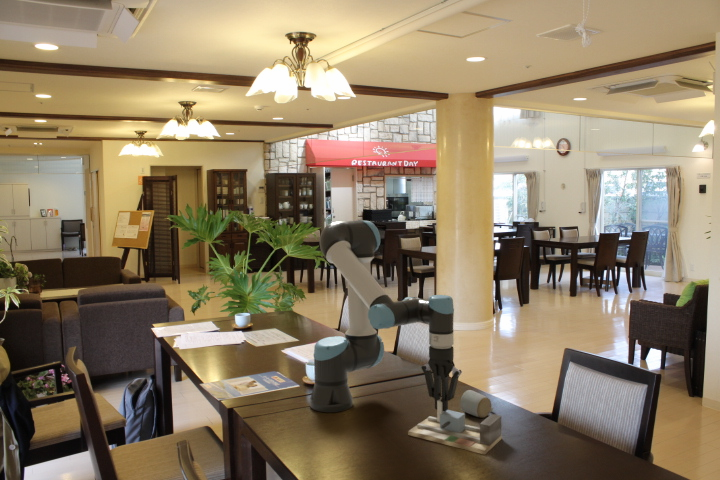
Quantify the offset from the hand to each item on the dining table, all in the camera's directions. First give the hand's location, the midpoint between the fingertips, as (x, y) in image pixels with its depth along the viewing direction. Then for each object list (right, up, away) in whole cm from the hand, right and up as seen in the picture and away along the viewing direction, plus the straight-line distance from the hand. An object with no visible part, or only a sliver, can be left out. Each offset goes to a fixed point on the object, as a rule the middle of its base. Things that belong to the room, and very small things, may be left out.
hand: (441, 420), depth 180 cm
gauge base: (+3, -4, -4) cm, 6 cm away
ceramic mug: (+14, -3, +15) cm, 21 cm away
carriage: (+2, -3, -4) cm, 5 cm away
